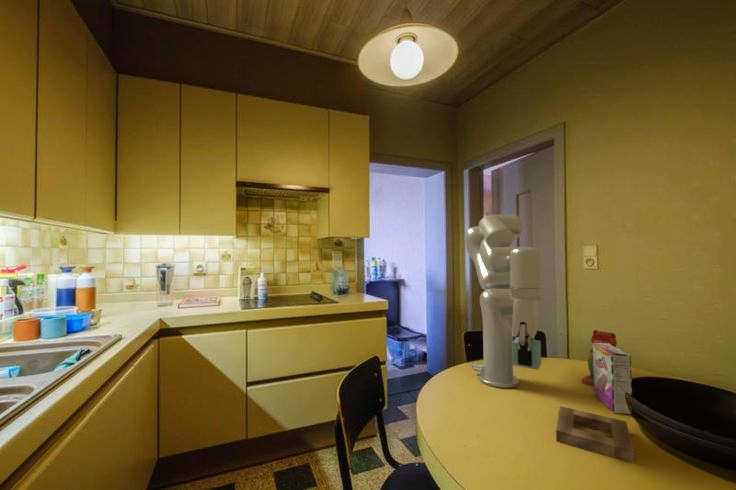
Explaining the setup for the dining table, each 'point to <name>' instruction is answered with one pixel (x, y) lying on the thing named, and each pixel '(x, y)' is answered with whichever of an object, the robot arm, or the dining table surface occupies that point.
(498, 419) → the dining table surface
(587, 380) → the stacking bear
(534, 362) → the teal cube
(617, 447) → the walnut puzzle board
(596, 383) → the candy bar box
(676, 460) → the dining table surface
